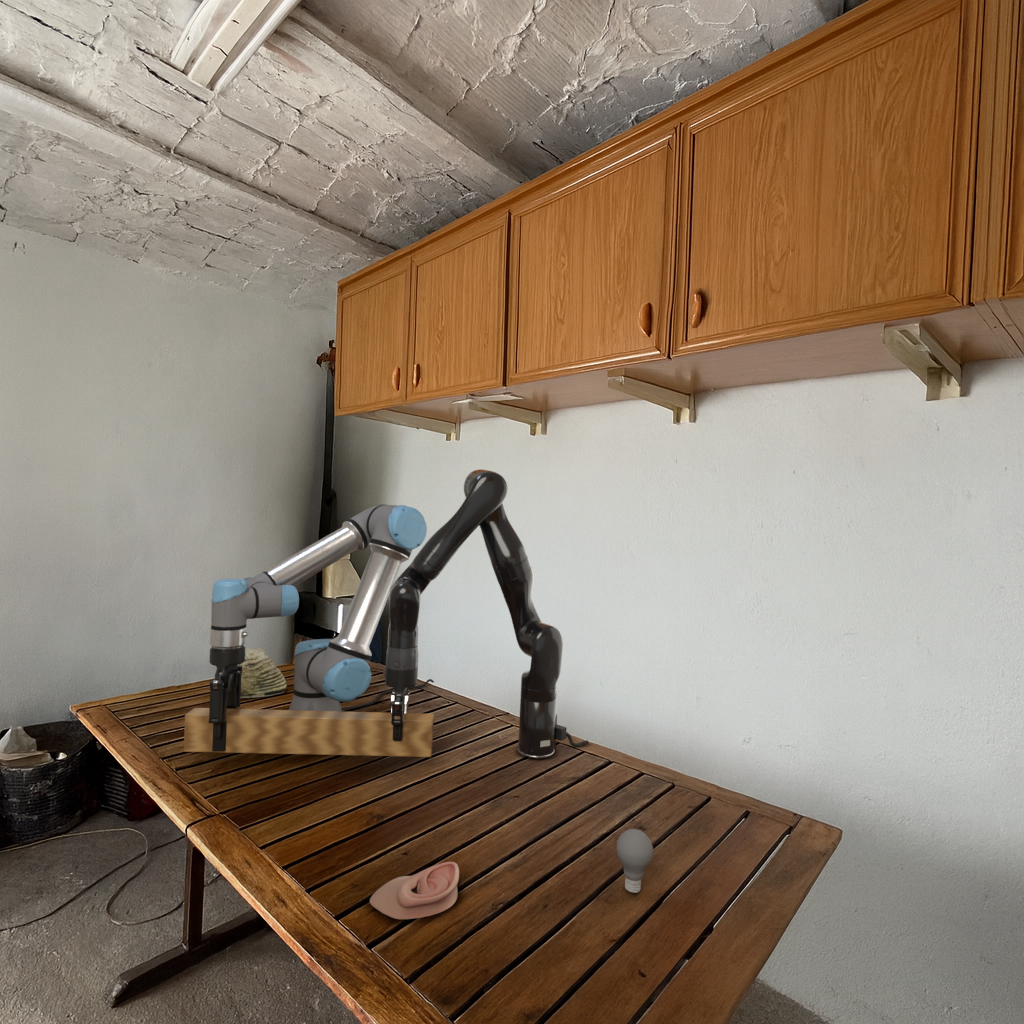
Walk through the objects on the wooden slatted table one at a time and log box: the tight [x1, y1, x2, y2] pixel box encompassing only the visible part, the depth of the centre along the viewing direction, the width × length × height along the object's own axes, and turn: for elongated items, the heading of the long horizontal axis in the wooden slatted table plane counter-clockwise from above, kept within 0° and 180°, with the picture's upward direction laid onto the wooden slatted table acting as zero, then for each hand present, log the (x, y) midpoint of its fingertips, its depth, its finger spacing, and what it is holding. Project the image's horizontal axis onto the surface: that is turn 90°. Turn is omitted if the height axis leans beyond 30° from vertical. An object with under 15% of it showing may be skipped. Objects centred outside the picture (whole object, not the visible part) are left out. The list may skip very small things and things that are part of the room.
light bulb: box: [615, 828, 654, 894], centre depth 106 cm, size 6×6×10 cm
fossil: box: [238, 646, 288, 699], centre depth 198 cm, size 9×18×15 cm, turn 132°
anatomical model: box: [369, 861, 460, 920], centre depth 101 cm, size 13×4×12 cm
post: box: [183, 707, 435, 758], centre depth 148 cm, size 56×5×8 cm, turn 93°
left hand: (223, 745), depth 147 cm, fingers closed on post, 5 cm apart
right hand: (399, 735), depth 150 cm, fingers closed on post, 5 cm apart
